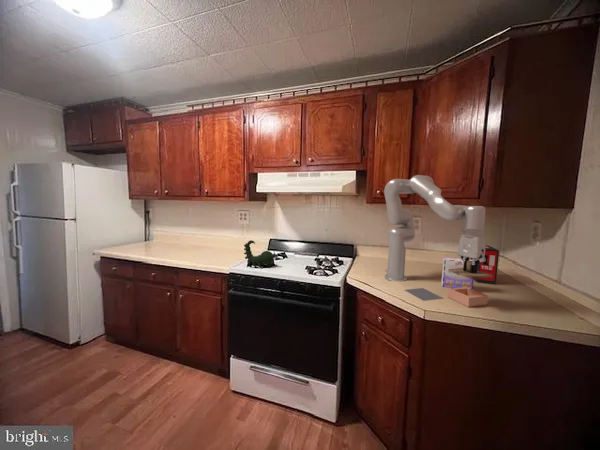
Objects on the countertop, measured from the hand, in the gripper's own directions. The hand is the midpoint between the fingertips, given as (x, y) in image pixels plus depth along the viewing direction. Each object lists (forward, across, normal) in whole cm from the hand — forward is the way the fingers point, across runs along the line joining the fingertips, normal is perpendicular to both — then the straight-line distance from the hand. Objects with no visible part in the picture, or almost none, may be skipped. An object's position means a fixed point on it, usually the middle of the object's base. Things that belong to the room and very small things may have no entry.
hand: (469, 271), depth 112 cm
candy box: (+15, -16, +11) cm, 25 cm away
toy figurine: (+15, -83, -90) cm, 123 cm away
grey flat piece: (+15, -12, -14) cm, 24 cm away
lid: (+1, 0, 0) cm, 1 cm away
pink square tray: (+15, 0, 0) cm, 15 cm away
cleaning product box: (+15, -25, +40) cm, 50 cm away
